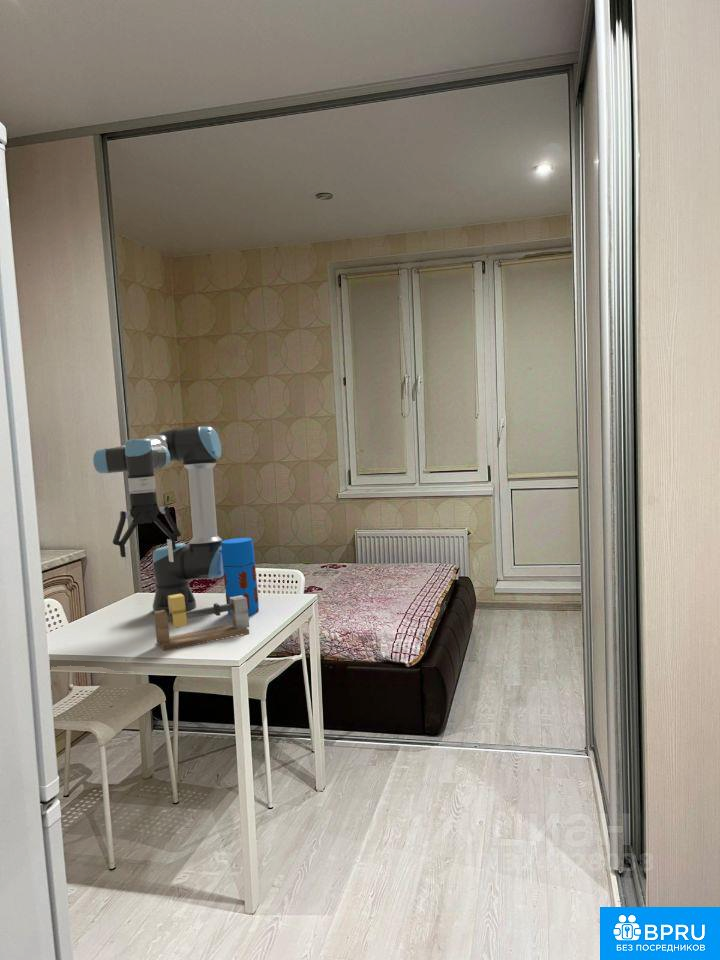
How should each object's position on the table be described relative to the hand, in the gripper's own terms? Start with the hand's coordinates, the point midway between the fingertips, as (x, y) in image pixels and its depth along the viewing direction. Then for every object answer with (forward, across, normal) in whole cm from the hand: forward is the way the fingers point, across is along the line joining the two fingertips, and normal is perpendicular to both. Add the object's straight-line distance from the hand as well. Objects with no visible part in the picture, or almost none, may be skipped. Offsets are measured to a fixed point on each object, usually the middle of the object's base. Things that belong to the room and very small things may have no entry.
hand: (149, 564), depth 222 cm
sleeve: (+19, +7, 0) cm, 20 cm away
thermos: (+25, +34, +22) cm, 47 cm away
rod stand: (+25, +14, 0) cm, 28 cm away
